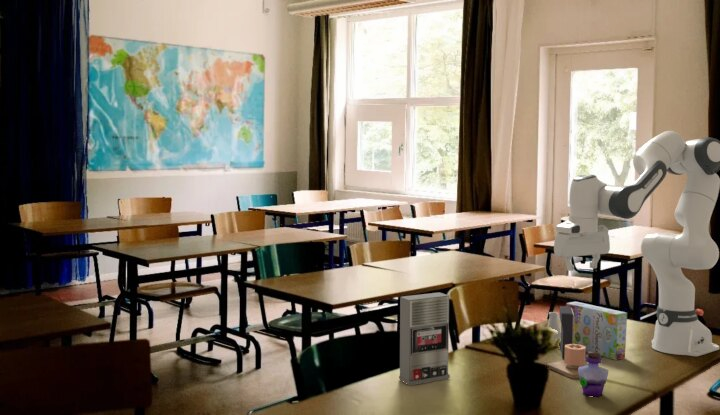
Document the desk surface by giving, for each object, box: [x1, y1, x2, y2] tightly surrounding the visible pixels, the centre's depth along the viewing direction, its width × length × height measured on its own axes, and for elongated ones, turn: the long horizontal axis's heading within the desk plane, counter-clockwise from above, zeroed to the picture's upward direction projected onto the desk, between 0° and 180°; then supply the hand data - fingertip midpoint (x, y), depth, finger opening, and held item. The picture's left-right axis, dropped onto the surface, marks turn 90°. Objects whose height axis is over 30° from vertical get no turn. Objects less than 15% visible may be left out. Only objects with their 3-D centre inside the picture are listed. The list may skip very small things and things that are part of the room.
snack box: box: [565, 301, 628, 361], centre depth 253 cm, size 21×6×15 cm, turn 35°
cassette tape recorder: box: [398, 292, 451, 386], centre depth 223 cm, size 14×6×25 cm, turn 117°
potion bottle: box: [578, 351, 609, 398], centre depth 212 cm, size 9×9×12 cm
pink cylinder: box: [563, 344, 586, 366], centre depth 233 cm, size 6×6×5 cm
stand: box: [545, 347, 588, 380], centre depth 234 cm, size 12×12×7 cm
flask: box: [547, 311, 561, 344], centre depth 266 cm, size 7×7×10 cm
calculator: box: [559, 305, 575, 360], centre depth 250 cm, size 11×4×15 cm, turn 168°
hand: (581, 269), depth 243 cm, fingers open, 8 cm apart
